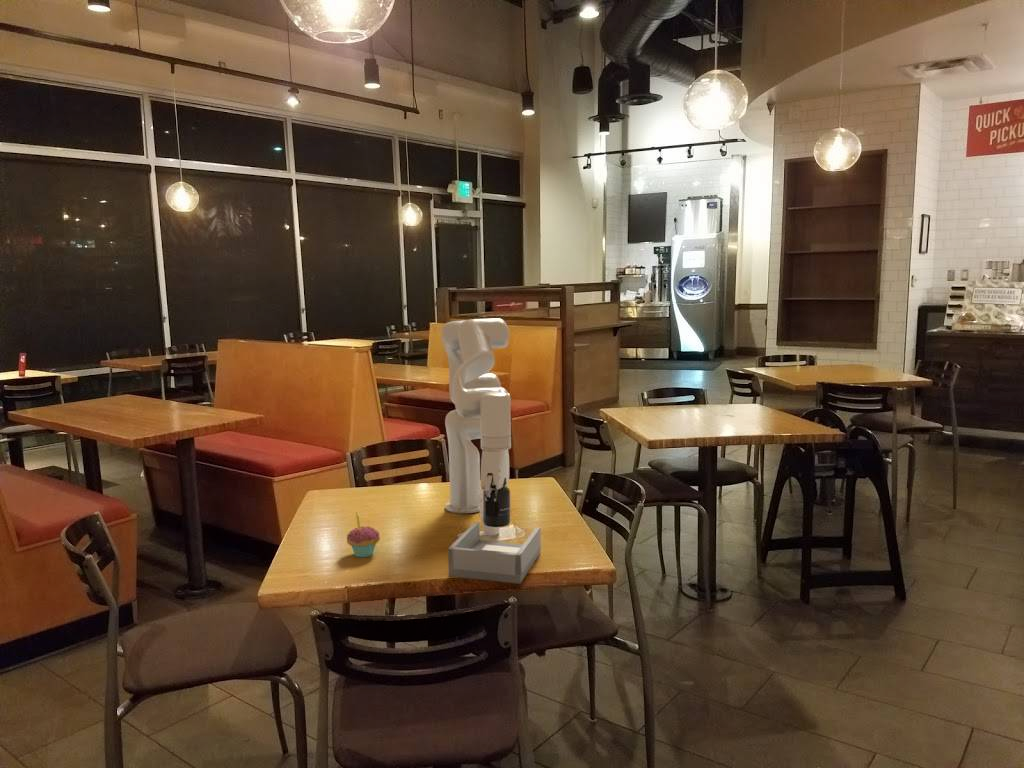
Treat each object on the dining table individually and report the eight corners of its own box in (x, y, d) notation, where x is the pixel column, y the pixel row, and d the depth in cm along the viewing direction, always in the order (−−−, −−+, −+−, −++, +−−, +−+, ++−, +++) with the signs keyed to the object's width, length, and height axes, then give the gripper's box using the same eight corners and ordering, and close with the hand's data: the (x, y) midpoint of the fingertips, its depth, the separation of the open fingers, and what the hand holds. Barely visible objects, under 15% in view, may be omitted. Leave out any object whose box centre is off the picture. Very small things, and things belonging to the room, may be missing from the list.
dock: (475, 546, 194) (475, 521, 193) (540, 553, 189) (540, 527, 188) (448, 576, 175) (448, 548, 174) (520, 583, 170) (520, 555, 169)
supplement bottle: (507, 528, 177) (506, 481, 176) (480, 527, 179) (479, 480, 177) (513, 519, 184) (512, 474, 182) (487, 518, 185) (486, 473, 184)
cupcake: (364, 562, 184) (362, 517, 182) (340, 556, 189) (338, 511, 187) (387, 551, 191) (385, 508, 190) (363, 545, 196) (361, 503, 194)
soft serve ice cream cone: (492, 526, 210) (491, 472, 208) (512, 533, 204) (511, 478, 202) (470, 533, 204) (469, 478, 202) (490, 540, 198) (489, 484, 196)
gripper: (492, 434, 188) (493, 500, 190) (469, 449, 171) (471, 521, 174) (519, 435, 186) (520, 502, 188) (500, 450, 169) (501, 523, 172)
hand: (496, 511), depth 181 cm, fingers closed on supplement bottle, 6 cm apart
